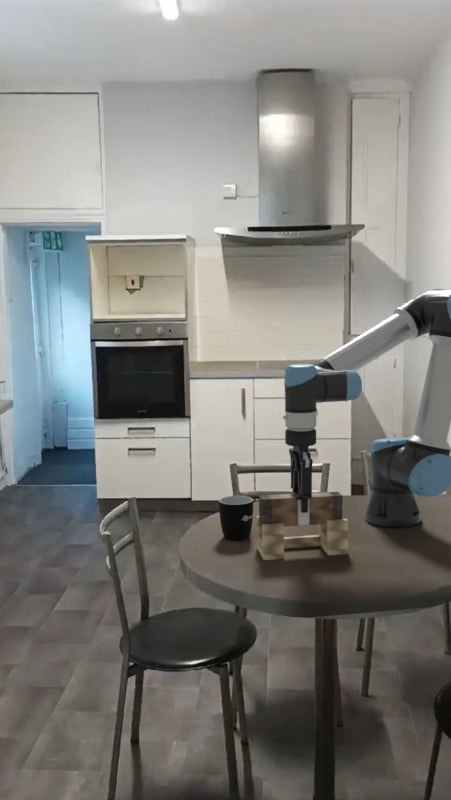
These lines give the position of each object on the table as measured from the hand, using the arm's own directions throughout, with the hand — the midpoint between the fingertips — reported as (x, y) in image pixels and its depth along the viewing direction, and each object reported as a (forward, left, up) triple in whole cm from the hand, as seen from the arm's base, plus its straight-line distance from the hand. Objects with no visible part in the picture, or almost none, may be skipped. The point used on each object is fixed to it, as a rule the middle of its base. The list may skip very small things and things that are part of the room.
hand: (301, 521), depth 199 cm
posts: (0, 0, -8) cm, 8 cm away
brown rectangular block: (0, 0, 0) cm, 0 cm away
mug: (+13, -16, -8) cm, 22 cm away
